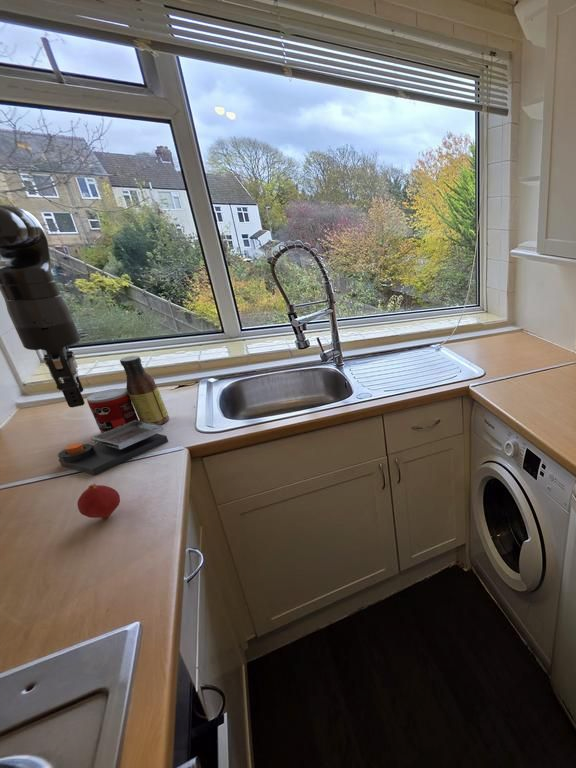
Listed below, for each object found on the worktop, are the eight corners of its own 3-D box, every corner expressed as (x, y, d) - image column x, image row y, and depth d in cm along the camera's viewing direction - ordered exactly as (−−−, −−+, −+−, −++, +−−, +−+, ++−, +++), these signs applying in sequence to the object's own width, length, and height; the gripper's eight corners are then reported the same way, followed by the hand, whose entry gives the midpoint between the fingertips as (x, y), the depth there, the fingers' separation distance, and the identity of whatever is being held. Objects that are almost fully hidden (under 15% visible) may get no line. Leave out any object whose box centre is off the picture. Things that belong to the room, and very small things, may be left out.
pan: (119, 449, 96) (117, 444, 96) (92, 442, 99) (89, 437, 99) (164, 430, 105) (162, 425, 105) (137, 424, 108) (135, 419, 107)
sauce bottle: (158, 416, 119) (134, 352, 111) (175, 418, 118) (153, 354, 110) (134, 427, 113) (108, 360, 106) (153, 429, 112) (127, 362, 104)
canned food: (98, 432, 111) (82, 395, 106) (135, 421, 117) (122, 386, 112) (106, 440, 107) (90, 403, 102) (145, 428, 113) (131, 392, 108)
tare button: (72, 455, 95) (69, 449, 94) (64, 453, 95) (62, 447, 95) (87, 449, 97) (84, 444, 96) (79, 447, 98) (77, 441, 97)
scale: (93, 477, 92) (87, 464, 91) (58, 466, 96) (52, 454, 94) (168, 441, 107) (164, 430, 105) (136, 433, 110) (131, 422, 109)
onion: (79, 522, 79) (62, 488, 76) (115, 504, 84) (100, 472, 81) (96, 530, 77) (80, 496, 74) (132, 511, 82) (118, 479, 79)
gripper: (16, 316, 78) (51, 393, 84) (9, 332, 69) (49, 416, 75) (71, 311, 83) (100, 384, 89) (72, 325, 74) (104, 405, 80)
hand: (77, 399), depth 82 cm, fingers open, 8 cm apart
